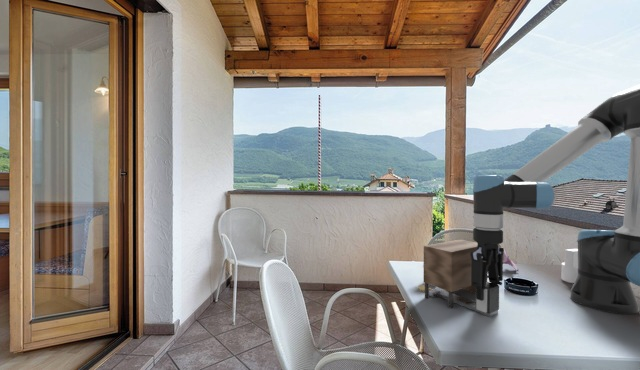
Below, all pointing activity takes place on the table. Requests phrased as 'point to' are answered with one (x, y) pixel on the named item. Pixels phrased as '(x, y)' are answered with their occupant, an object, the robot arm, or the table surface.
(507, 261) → the lily
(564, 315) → the table surface
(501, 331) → the table surface
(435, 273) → the cabinet
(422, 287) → the brass disc
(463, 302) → the flat bar with block
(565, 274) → the cylinder with rectangular tab
